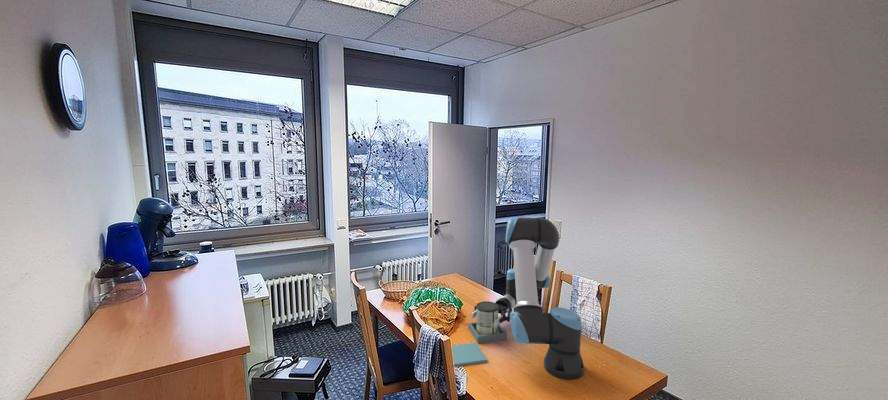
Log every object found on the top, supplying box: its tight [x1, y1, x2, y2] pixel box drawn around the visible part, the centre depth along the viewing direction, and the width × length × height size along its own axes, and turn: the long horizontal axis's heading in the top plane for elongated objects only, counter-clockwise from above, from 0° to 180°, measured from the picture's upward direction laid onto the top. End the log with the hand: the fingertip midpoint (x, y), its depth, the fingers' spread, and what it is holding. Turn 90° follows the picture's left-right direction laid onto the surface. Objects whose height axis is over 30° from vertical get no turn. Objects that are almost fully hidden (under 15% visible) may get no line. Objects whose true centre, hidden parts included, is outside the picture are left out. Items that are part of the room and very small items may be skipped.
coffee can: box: [475, 300, 499, 335], centre depth 167 cm, size 10×10×14 cm
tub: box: [467, 321, 508, 344], centre depth 168 cm, size 14×14×3 cm
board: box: [452, 342, 488, 367], centre depth 150 cm, size 14×14×1 cm
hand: (483, 319), depth 164 cm, fingers open, 12 cm apart
